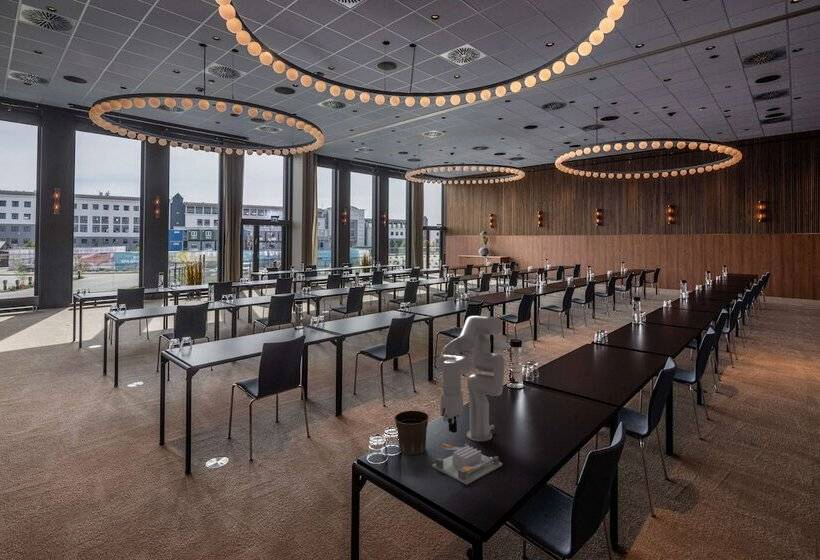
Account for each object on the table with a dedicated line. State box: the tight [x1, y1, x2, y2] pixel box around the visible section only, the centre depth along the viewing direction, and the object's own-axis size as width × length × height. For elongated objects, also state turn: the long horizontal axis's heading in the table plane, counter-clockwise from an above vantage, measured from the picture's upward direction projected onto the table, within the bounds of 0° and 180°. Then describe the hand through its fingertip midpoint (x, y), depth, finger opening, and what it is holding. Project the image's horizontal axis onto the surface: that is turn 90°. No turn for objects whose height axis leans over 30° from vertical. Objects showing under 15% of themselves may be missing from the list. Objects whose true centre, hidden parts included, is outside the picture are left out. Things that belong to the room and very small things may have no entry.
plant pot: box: [394, 410, 430, 456], centre depth 211 cm, size 16×16×16 cm
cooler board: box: [431, 443, 503, 485], centre depth 194 cm, size 23×20×6 cm
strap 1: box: [440, 443, 464, 451], centre depth 200 cm, size 19×3×2 cm, turn 132°
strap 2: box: [461, 456, 494, 475], centre depth 190 cm, size 19×3×2 cm, turn 131°
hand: (452, 431), depth 191 cm, fingers closed
